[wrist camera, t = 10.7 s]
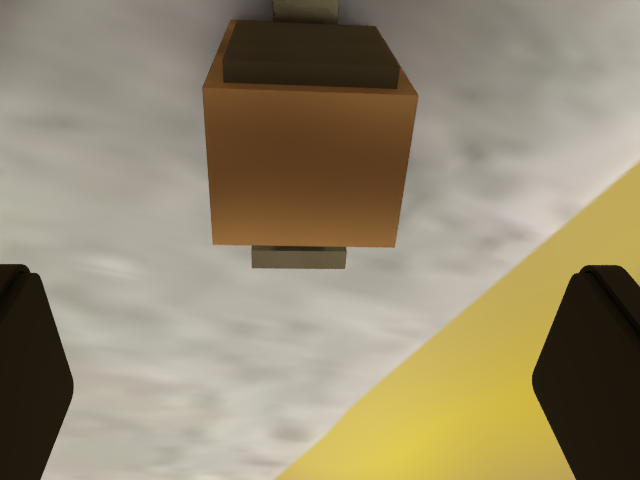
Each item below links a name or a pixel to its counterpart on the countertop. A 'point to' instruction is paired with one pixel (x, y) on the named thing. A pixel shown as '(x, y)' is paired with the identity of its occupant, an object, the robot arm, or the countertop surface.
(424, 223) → the countertop surface
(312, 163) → the brown capped cube
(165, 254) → the countertop surface
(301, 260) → the rail
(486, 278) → the countertop surface
